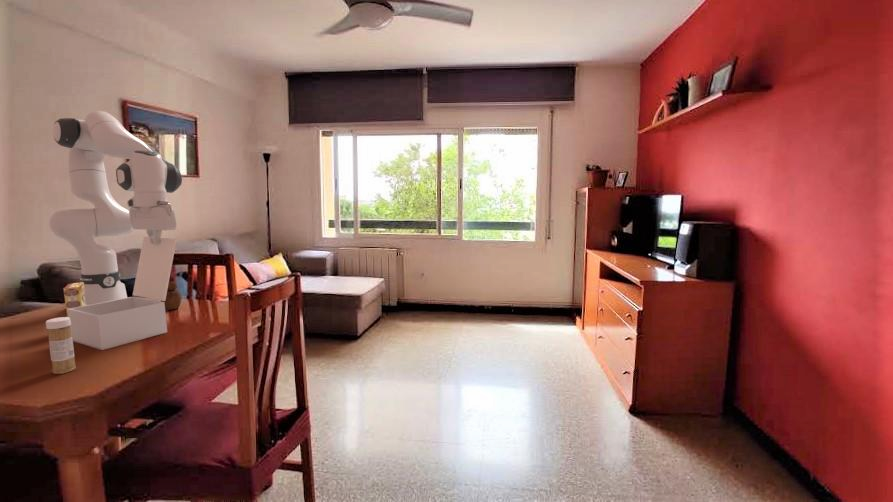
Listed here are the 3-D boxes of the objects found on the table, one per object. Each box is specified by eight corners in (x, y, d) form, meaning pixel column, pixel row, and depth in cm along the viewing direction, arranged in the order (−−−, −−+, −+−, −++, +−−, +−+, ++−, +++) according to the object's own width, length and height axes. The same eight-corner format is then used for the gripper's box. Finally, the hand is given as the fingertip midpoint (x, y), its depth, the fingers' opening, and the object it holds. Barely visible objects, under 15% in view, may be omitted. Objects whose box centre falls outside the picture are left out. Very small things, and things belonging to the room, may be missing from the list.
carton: (71, 340, 132) (67, 309, 131) (136, 325, 148) (133, 296, 147) (101, 350, 124) (98, 316, 122) (167, 332, 139) (164, 302, 138)
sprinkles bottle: (63, 367, 111) (57, 316, 110) (81, 367, 111) (75, 316, 109) (47, 374, 107) (40, 321, 105) (65, 374, 107) (58, 321, 105)
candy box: (86, 333, 140) (80, 286, 138) (68, 335, 137) (62, 288, 135) (89, 326, 147) (84, 281, 145) (73, 328, 145) (67, 283, 143)
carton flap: (143, 236, 148) (145, 237, 149) (132, 295, 146) (134, 295, 147) (174, 238, 140) (176, 239, 141) (163, 300, 138) (165, 301, 138)
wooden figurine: (158, 310, 166) (154, 272, 165) (169, 306, 172) (166, 269, 170) (173, 311, 165) (170, 272, 163) (185, 307, 171) (181, 269, 169)
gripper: (180, 201, 139) (183, 243, 141) (144, 201, 149) (148, 241, 151) (159, 201, 134) (163, 245, 136) (124, 201, 144) (128, 243, 145)
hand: (155, 243), depth 143 cm, fingers closed, pressing on carton flap
